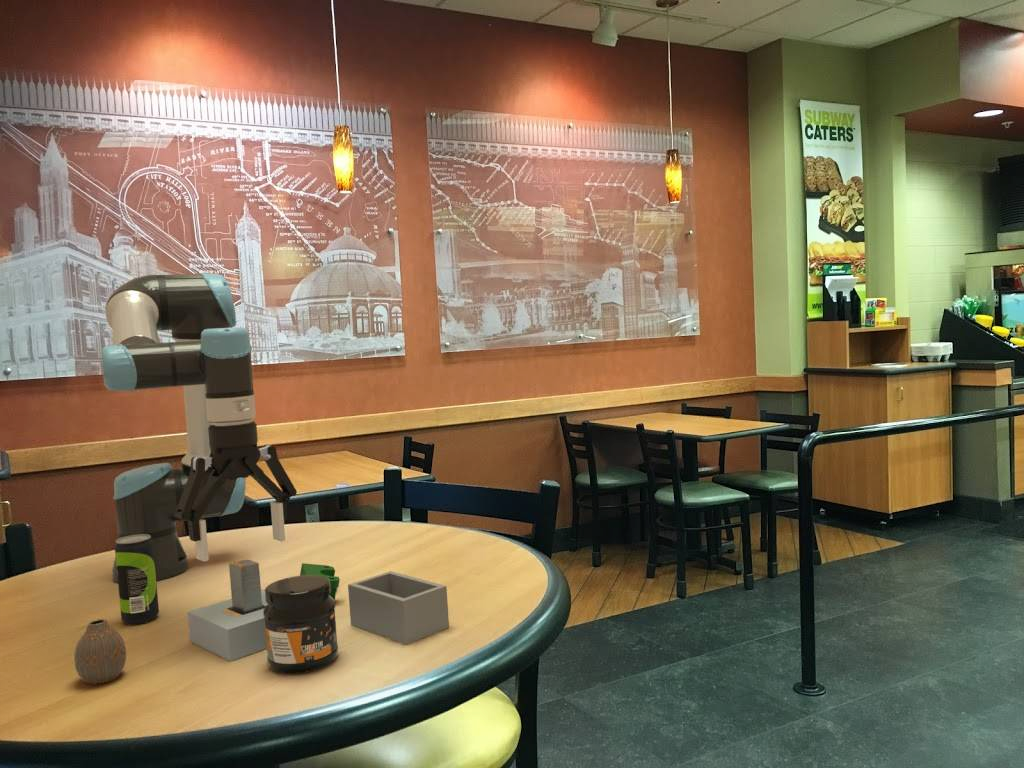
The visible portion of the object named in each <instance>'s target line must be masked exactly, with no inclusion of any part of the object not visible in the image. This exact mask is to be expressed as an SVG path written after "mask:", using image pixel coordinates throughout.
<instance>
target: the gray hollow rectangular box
mask: <svg viewBox="0 0 1024 768" xmlns="http://www.w3.org/2000/svg"><path fill="white" fill-rule="evenodd" d="M447 587H448V586H447V585H444V584H440V583H436V582H433V581H429V580H425V579H422V578H418V577H414V576H410V575H408V574H403V573H401V572H395V571H392V570H389V571H387V572H383V573H380V574H377V575H374V576H371V577H370V576H369V577H368V578H364V579H361V580H358V581H355V582H352V583H348V584H347V588H348V591H347V592H348V601H349V602H348V603H349V605H348V606H349V615H350V616H349V617H350V625H351V626H352V627H356V628H359V629H361V630H364V631H367V632H370V633H373V634H375V635H377V636H381V637H383V638H385V639H389V640H392V641H395V642H397V643H400V644H403V645H406V646H407V645H410V644H412V643H414V642H418V641H419V640H422V639H424V638H427V637H429V636H432V635H434V634H437V633H439V632H441V631H444V630H447V629H449V628H450V621H449V620H450V618H449V605H448V592H447V591H448V590H447Z"/></svg>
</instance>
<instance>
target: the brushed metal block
mask: <svg viewBox="0 0 1024 768" xmlns="http://www.w3.org/2000/svg"><path fill="white" fill-rule="evenodd" d="M228 568H229V570H228V571H229V581H230V593H231V594H230V595H231V599H232V606H233V611H234V612H236V613H238V614H241V615H245V614H248V613H251V612H254V611H257V610H261V609H262V597H261V590H262V585H261V573H260V563H259V562H257V561H254V560H252V559H248V558H246V559H243V560H238V561H231V562H229V563H228Z"/></svg>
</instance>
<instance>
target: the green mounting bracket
mask: <svg viewBox="0 0 1024 768" xmlns="http://www.w3.org/2000/svg"><path fill="white" fill-rule="evenodd" d="M335 574H336V569H335V568H334V566H331V565H326V564H317V563H315V564H314V563H305V562H302V563H301V568H300V573H299V576H303V575H317V576H323V577H326V578H328V579H329V581H330V589H331V593H330V596H331V597H332V598H333V599H334V601H336V594H337V589H338V588H339V586H340V581H341V579H340V577H339V576H337V575H335Z"/></svg>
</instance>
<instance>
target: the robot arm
mask: <svg viewBox="0 0 1024 768" xmlns="http://www.w3.org/2000/svg"><path fill="white" fill-rule="evenodd" d="M106 301H107V302H106V304H105V319H106V322H107V325H108V326H110V328H111V329H112V340H113V345H106V346H104V347H103V348H102V349H101V351H100V352H101V367H102V376H103V377H102V378H103V385H104V387H105V388H106V389H107V390H108V391H110V392H111V391H115V392H116V391H126V392H131V391H136V390H149V389H158V388H159V389H161V388H170V387H171V388H172V387H183V397H184V398H183V400H184V411H185V412H184V413H185V425H186V437H187V450H188V451H187V453H186V454H185V455H184V456H183V457H182V459H181V467H178V468H173V466H172V465H171V463H169V462H162V463H153V464H147V465H144V466H141V467H140V466H139V467H136V468H134V469H130V470H127V471H124V472H122V473H120V474H119V475H118V476H116V477H115V479H114V482H113V491H114V493H113V496H112V497H113V498H112V499H113V500H114V501H115V502H114V503H115V516H116V527H117V537H118V538H117V539H119V538H122V537H126V536H131V535H139V534H147V535H150V536H151V538H150V539H151V540H152V541H153V551H154V562H155V573H156V581H160V580H164V579H168V578H172V577H174V576H177V575H180V574H183V573H184V572H185V571H187V570H188V569H189V560H188V559H189V558H188V555H187V553H186V551H185V549H184V547H183V544H182V542H181V540H180V538H179V536H178V532H177V530H178V529H177V523H178V522H184V521H187V526H188V535H189V536H188V537H189V539H190V541H192V542H194V543H195V545H194V547H195V556H196V560H198V561H201V562H208V561H210V559H209V558H210V557H209V546H208V536H207V523H206V522H207V521H206V519H204V518H212V517H213V518H214V517H222V516H225V515H230V514H236V513H237V512H239V511H240V510H241V509H242V507H243V505H244V501H245V496H246V495H245V494H246V483H247V482H246V478H249V476H250V477H251V478H252V479H253V480H255V482H256V483H257V484H258V485H260V486H261V487H262V488H263V489H264V490H265V491H266V492H267V493H268V494H269V495H270V496H271V497H272V498H273V499H274V501H270V502H269V503H270V512H271V525H272V526H271V528H272V529H271V530H272V538H273V540H275V541H278V542H281V543H282V542H285V541H286V533H285V529H286V528H285V520H288V515H289V514H288V505H287V504H288V503H289V502H290V501H291V497H295V496H296V495H297V493H298V491H297V490H296V488H295V486H294V484H293V482H292V480H291V479H290V477H289V475H288V474H287V472H286V469H285V468H284V467H283V465H282V463H281V462H280V459H279V458H278V453H277V448H276V447H275V445H269V444H265V445H263V446H262V447H260V448H259V447H258V440H259V438H258V426H257V423H256V421H253V419H255V418H256V403H255V402H256V401H255V393H254V392H255V391H254V380H253V366H252V365H253V363H252V350H253V349H252V345H251V340H250V333H249V331H248V329H247V328H245V327H242V326H239V327H236V326H237V317H236V314H237V313H236V309H235V304H234V299H233V296H232V291H231V288H230V284H229V282H228V280H227V279H226V277H225V276H223V275H222V274H218V273H204V272H201V273H200V272H199V273H179V274H148V275H143V276H139V277H135V278H133V279H131V280H129V281H127V282H125V283H123V284H122V285H120V286H119V287H117V288H116V289H115V290H114V291H113V292H112V293H111V294H110V295H109V297H108V300H106ZM158 331H171V339H172V340H173V341H174V342H173V341H172V342H160V338H159V333H158ZM260 458H262V460H264V462H265V464H266V465H267V467H268V468H269V471H270V473H271V474H272V476H273V478H274V479H275V481H276V482H277V484H278V485H277V484H276V483H275V482H274V481H273V480H271V478H270V477H269V476H268V475H267V474H266V473H265V472H264V470H263V469H262V468H261V467H260V466H259V465H258V462H259V460H260ZM114 556H115V555H114ZM111 569H112V573H111V574H112V580H113V582H116V583H118V577H117V567H116V556H115V557H114V560H113V565H112V568H111Z"/></svg>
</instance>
